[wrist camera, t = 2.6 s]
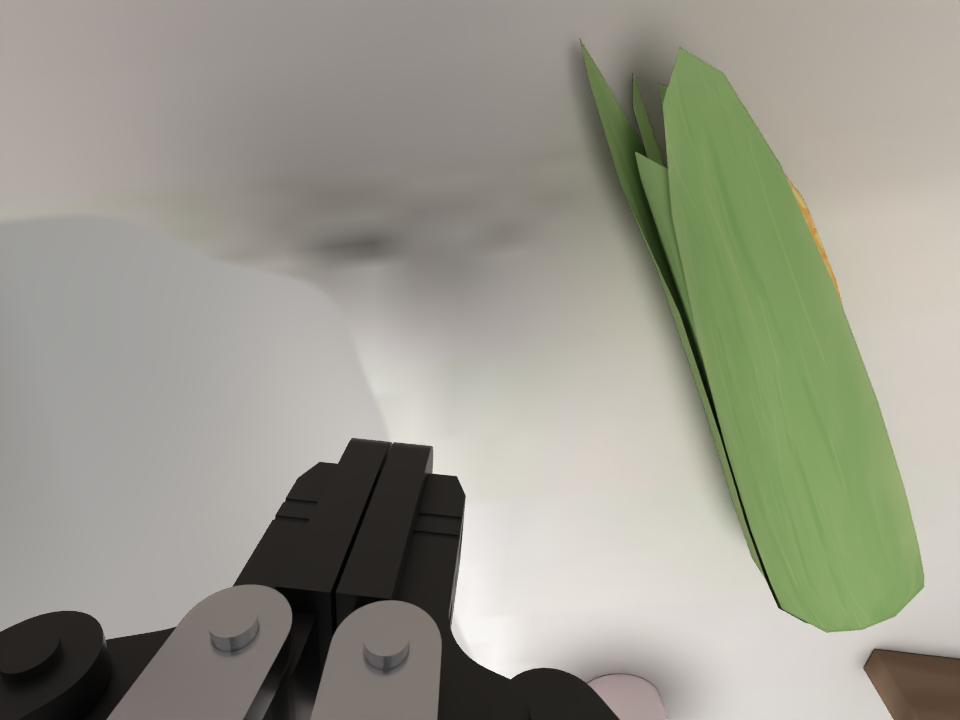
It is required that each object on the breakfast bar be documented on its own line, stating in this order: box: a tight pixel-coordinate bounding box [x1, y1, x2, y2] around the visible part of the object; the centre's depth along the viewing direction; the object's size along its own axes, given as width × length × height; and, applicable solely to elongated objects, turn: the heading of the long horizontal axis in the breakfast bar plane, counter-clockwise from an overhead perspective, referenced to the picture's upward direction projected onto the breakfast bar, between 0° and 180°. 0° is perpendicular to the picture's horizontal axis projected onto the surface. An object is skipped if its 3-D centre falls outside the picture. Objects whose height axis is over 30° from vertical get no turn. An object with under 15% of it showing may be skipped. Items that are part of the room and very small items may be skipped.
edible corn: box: [579, 38, 924, 632], centre depth 16 cm, size 5×20×5 cm
